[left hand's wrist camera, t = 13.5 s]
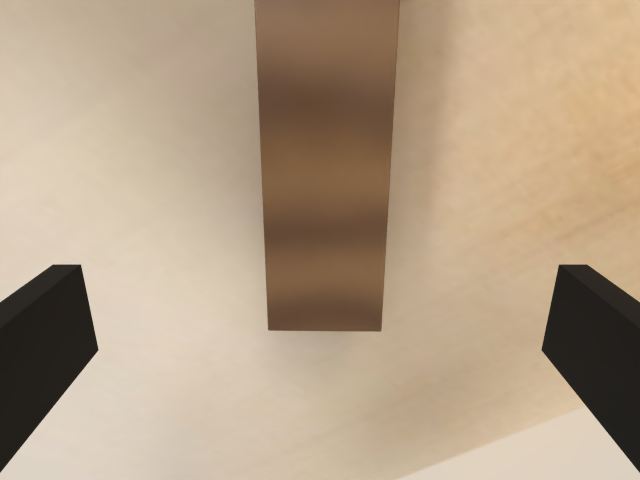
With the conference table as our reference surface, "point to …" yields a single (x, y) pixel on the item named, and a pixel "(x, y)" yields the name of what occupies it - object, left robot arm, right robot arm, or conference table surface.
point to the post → (325, 158)
